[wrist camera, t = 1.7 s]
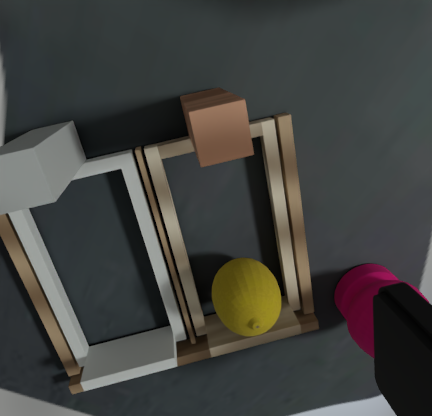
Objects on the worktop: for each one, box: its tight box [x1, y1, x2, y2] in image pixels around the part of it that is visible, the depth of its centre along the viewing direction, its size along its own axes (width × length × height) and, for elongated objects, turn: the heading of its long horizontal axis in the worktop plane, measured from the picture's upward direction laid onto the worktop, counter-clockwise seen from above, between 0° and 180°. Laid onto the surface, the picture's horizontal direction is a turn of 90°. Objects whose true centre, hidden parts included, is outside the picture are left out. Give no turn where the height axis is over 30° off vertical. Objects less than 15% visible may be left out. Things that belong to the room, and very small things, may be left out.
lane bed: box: [0, 113, 319, 394], centre depth 32 cm, size 20×24×2 cm
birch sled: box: [144, 88, 301, 357], centre depth 27 cm, size 21×10×9 cm, turn 11°
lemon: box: [212, 258, 281, 336], centre depth 30 cm, size 6×6×8 cm
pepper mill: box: [334, 264, 429, 358], centre depth 28 cm, size 7×7×20 cm
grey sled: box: [0, 121, 186, 391], centre depth 27 cm, size 21×10×9 cm, turn 11°
